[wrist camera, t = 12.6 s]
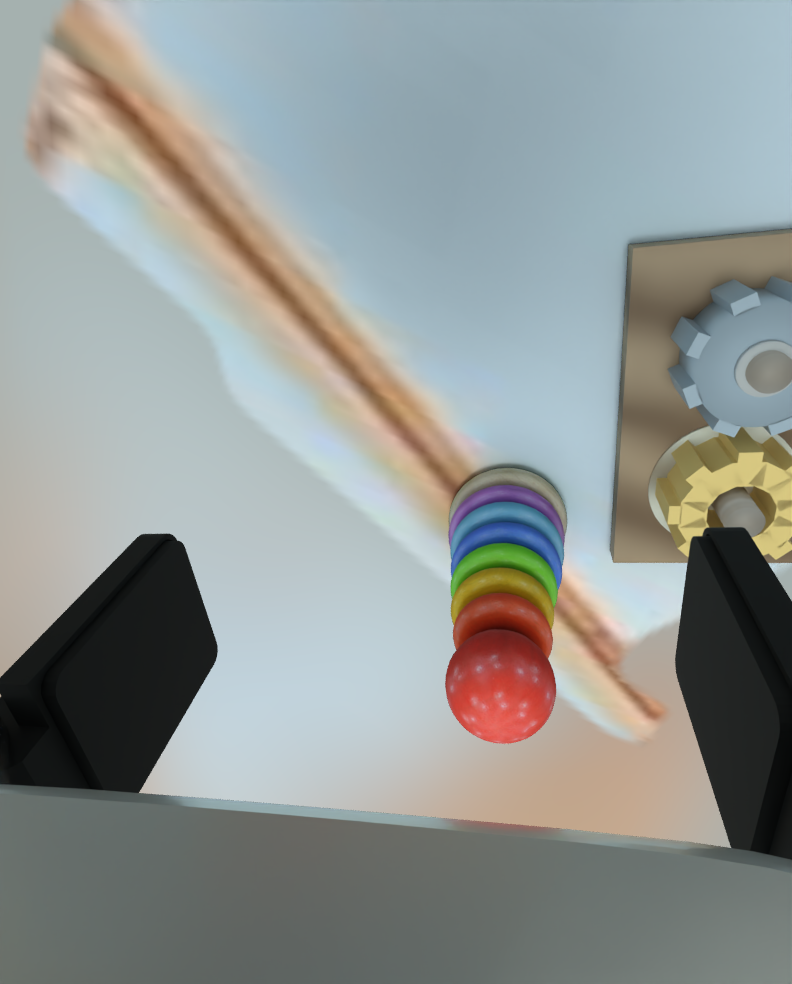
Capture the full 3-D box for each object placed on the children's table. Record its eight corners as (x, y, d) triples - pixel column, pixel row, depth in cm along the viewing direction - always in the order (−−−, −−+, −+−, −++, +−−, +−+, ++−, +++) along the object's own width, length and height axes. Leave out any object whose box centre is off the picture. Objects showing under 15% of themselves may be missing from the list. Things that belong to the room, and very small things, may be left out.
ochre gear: (660, 430, 36) (674, 455, 33) (803, 424, 35) (831, 449, 32) (651, 538, 40) (662, 569, 37) (780, 537, 38) (803, 569, 35)
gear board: (628, 244, 33) (650, 260, 28) (878, 220, 31) (953, 233, 26) (610, 550, 42) (623, 605, 37) (801, 549, 40) (844, 608, 35)
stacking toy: (588, 493, 41) (640, 716, 25) (529, 577, 45) (539, 817, 29) (482, 444, 40) (463, 638, 24) (432, 533, 44) (386, 750, 28)
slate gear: (648, 317, 33) (663, 335, 30) (801, 248, 31) (836, 259, 27) (691, 433, 36) (710, 462, 33) (834, 379, 33) (871, 404, 30)
